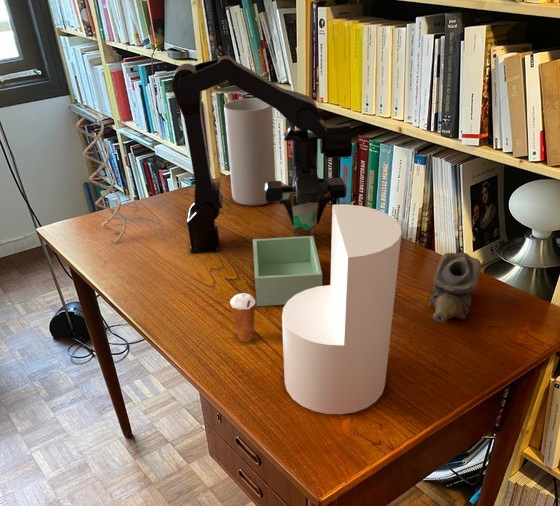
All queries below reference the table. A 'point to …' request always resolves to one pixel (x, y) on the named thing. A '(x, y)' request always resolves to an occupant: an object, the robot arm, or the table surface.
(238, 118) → the cylinder vase
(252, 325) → the milkshake
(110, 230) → the dna model
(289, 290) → the light green open box
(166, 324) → the table surface
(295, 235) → the food container
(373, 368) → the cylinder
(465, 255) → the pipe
